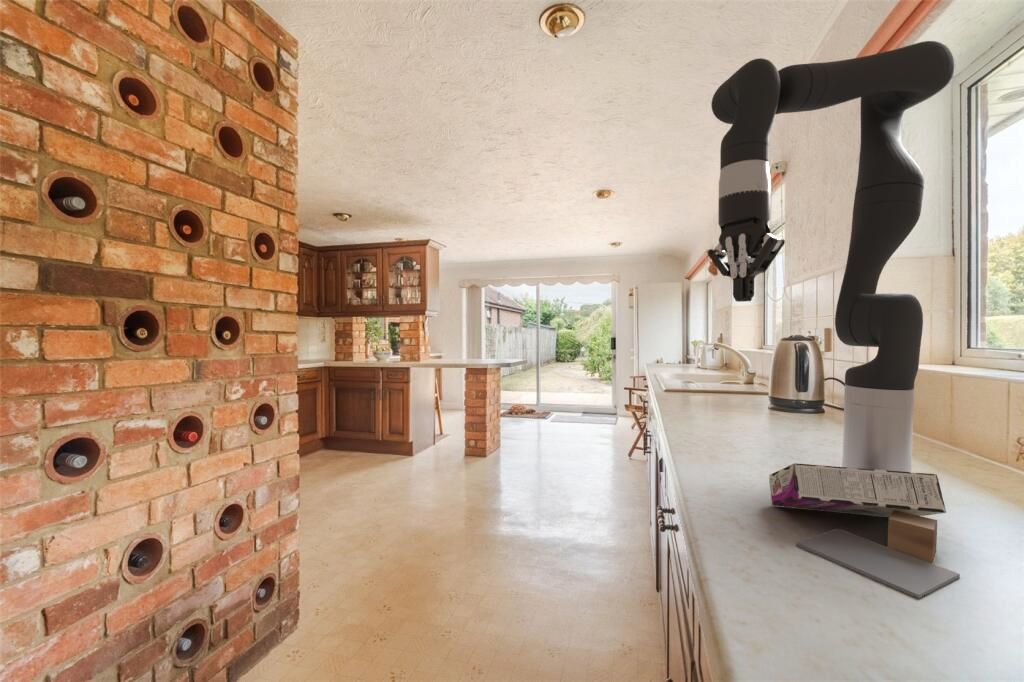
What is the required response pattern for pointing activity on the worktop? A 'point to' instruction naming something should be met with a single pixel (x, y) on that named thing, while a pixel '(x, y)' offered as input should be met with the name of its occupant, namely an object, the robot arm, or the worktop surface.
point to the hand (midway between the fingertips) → (743, 301)
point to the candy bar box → (856, 490)
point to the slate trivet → (879, 562)
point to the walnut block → (913, 535)
